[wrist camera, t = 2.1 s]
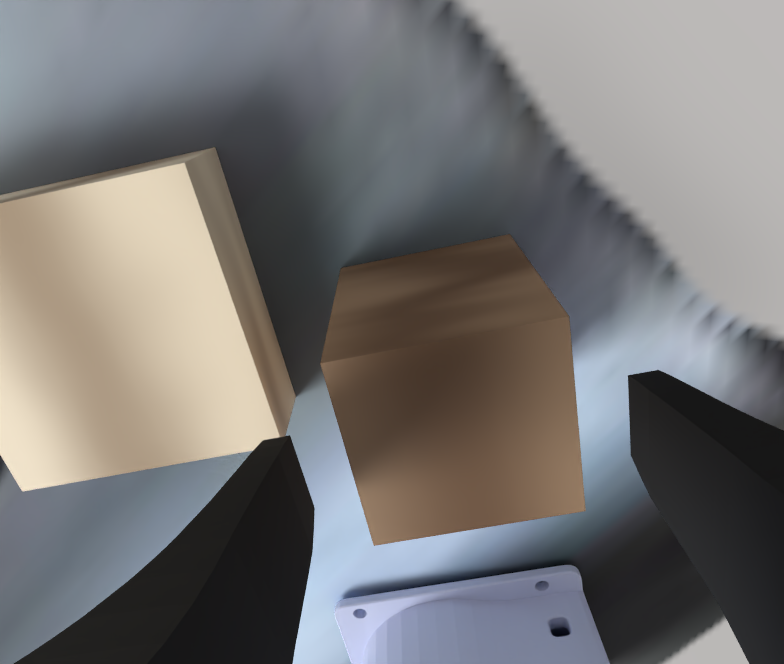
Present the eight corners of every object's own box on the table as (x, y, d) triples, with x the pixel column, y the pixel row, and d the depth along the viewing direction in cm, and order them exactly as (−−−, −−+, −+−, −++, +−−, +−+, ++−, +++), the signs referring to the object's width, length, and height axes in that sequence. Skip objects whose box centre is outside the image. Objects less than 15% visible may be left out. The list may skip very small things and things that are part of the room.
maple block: (219, 145, 16) (184, 162, 13) (297, 390, 19) (282, 445, 17) (-49, 204, 17) (-135, 233, 14) (72, 432, 20) (22, 491, 17)
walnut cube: (509, 233, 17) (569, 316, 11) (527, 381, 19) (585, 510, 13) (340, 267, 17) (320, 363, 12) (377, 408, 19) (373, 545, 14)
